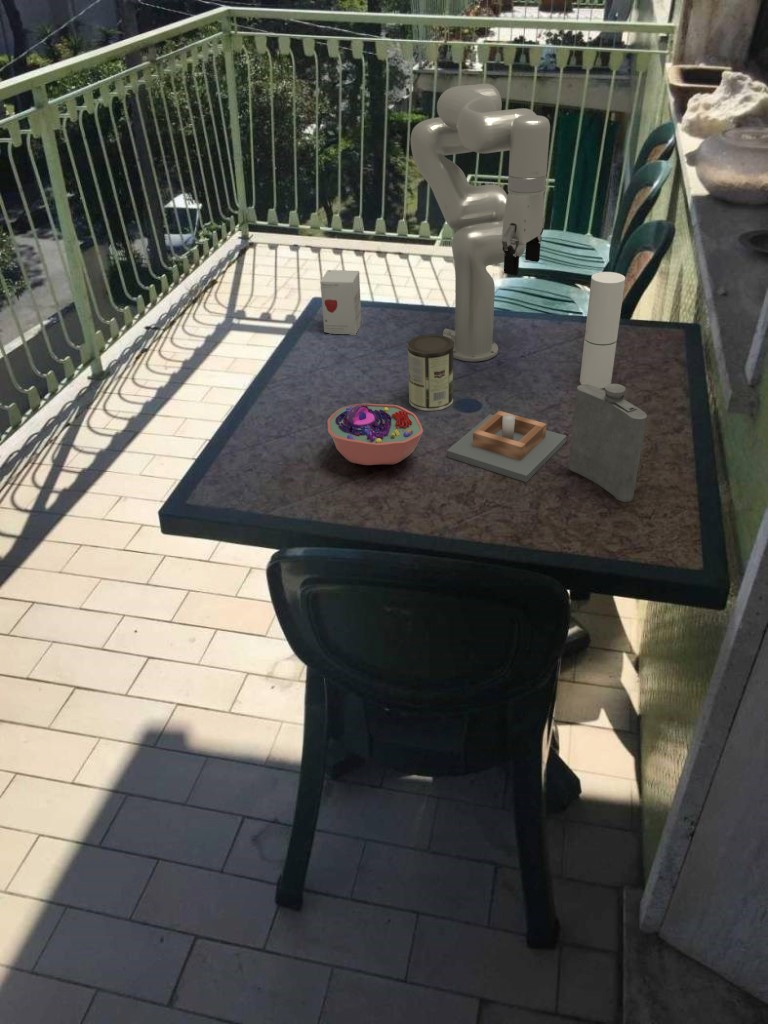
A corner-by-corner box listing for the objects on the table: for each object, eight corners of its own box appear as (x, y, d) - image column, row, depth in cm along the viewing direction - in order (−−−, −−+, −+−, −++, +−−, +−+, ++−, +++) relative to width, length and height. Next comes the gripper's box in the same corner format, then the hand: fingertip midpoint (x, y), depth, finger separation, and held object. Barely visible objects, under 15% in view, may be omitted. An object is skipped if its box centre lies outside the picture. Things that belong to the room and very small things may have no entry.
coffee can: (428, 386, 192) (428, 330, 184) (462, 399, 186) (463, 341, 178) (398, 402, 186) (397, 344, 178) (433, 415, 180) (433, 357, 172)
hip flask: (564, 466, 161) (574, 375, 150) (580, 460, 163) (591, 369, 152) (624, 504, 150) (640, 407, 139) (640, 496, 152) (656, 401, 140)
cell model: (396, 491, 157) (394, 440, 150) (312, 465, 166) (307, 416, 159) (439, 451, 168) (439, 402, 161) (358, 428, 177) (355, 381, 170)
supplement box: (323, 335, 219) (318, 280, 211) (330, 322, 227) (326, 269, 218) (356, 336, 218) (353, 281, 209) (362, 323, 225) (359, 269, 217)
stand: (446, 456, 166) (447, 424, 162) (489, 420, 178) (491, 389, 174) (526, 482, 157) (528, 449, 153) (566, 442, 169) (569, 410, 165)
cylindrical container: (609, 375, 194) (623, 271, 179) (612, 388, 188) (627, 283, 173) (578, 374, 194) (589, 271, 180) (581, 388, 189) (593, 283, 174)
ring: (472, 445, 166) (473, 432, 165) (498, 423, 174) (499, 410, 172) (520, 460, 161) (521, 447, 159) (545, 436, 168) (546, 423, 167)
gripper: (529, 172, 172) (524, 253, 182) (489, 191, 160) (486, 276, 170) (562, 176, 168) (555, 258, 178) (523, 195, 157) (518, 282, 167)
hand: (521, 267), depth 174 cm, fingers open, 9 cm apart
